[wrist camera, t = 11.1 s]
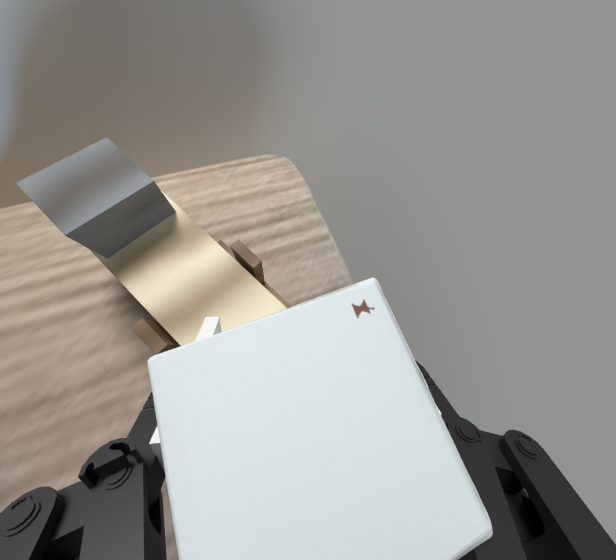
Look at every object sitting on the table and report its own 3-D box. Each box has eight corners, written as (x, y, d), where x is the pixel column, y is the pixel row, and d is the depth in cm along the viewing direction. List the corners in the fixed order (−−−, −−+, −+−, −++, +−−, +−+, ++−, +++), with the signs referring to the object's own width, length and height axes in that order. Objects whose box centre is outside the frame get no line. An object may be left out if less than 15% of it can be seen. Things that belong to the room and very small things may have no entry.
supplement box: (234, 351, 18) (137, 347, 6) (319, 321, 19) (383, 269, 7) (259, 454, 16) (193, 771, 4) (352, 411, 17) (512, 540, 5)
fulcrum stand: (147, 306, 25) (93, 288, 17) (223, 245, 28) (205, 208, 21) (221, 381, 24) (196, 397, 16) (290, 308, 27) (296, 294, 20)
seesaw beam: (75, 227, 21) (8, 186, 16) (149, 182, 24) (112, 134, 18) (287, 450, 17) (289, 491, 12) (348, 369, 20) (372, 374, 15)
